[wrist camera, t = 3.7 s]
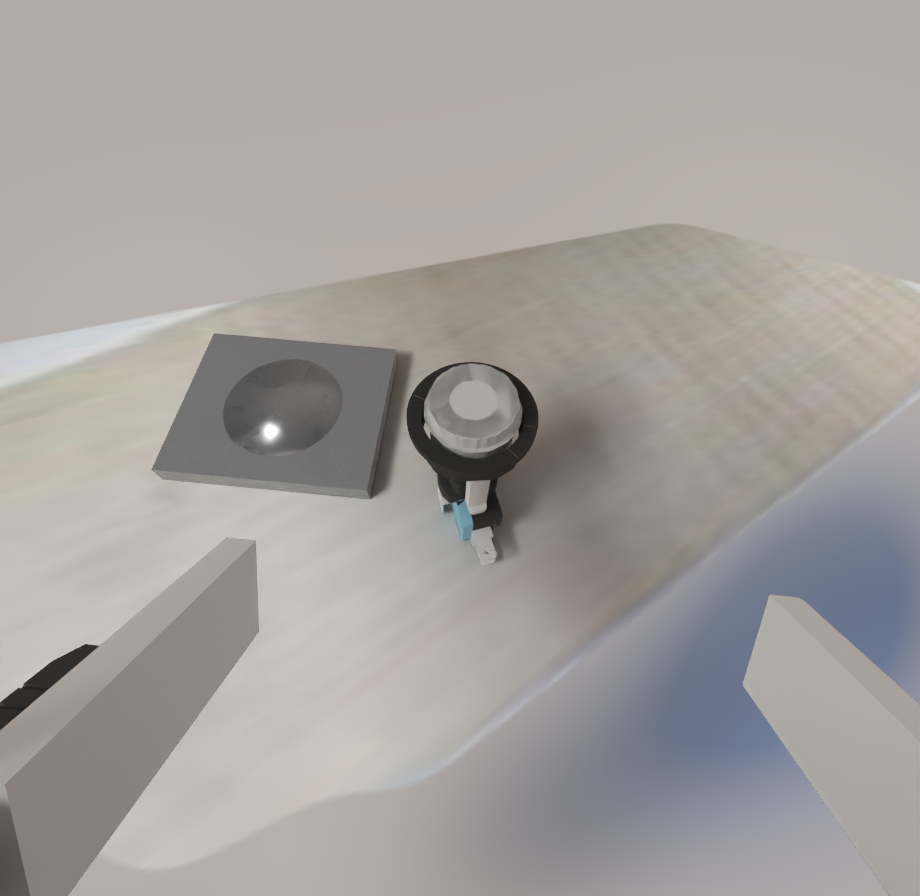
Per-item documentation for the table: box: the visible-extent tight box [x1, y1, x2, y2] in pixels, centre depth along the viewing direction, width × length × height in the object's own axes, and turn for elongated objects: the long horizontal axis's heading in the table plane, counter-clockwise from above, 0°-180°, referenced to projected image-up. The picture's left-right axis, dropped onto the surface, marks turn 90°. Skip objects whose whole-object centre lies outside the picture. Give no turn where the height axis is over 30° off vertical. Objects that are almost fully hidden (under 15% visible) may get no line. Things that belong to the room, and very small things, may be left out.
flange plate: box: [152, 334, 398, 499], centre depth 29 cm, size 12×10×1 cm
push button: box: [407, 362, 538, 566], centre depth 22 cm, size 7×5×10 cm
